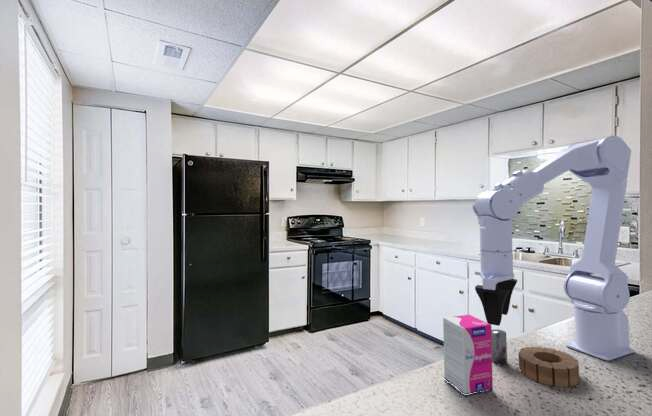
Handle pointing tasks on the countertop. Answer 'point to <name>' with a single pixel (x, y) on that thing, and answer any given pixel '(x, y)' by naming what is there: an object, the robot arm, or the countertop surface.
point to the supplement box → (468, 353)
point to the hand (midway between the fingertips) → (497, 318)
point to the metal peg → (499, 347)
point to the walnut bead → (549, 366)
